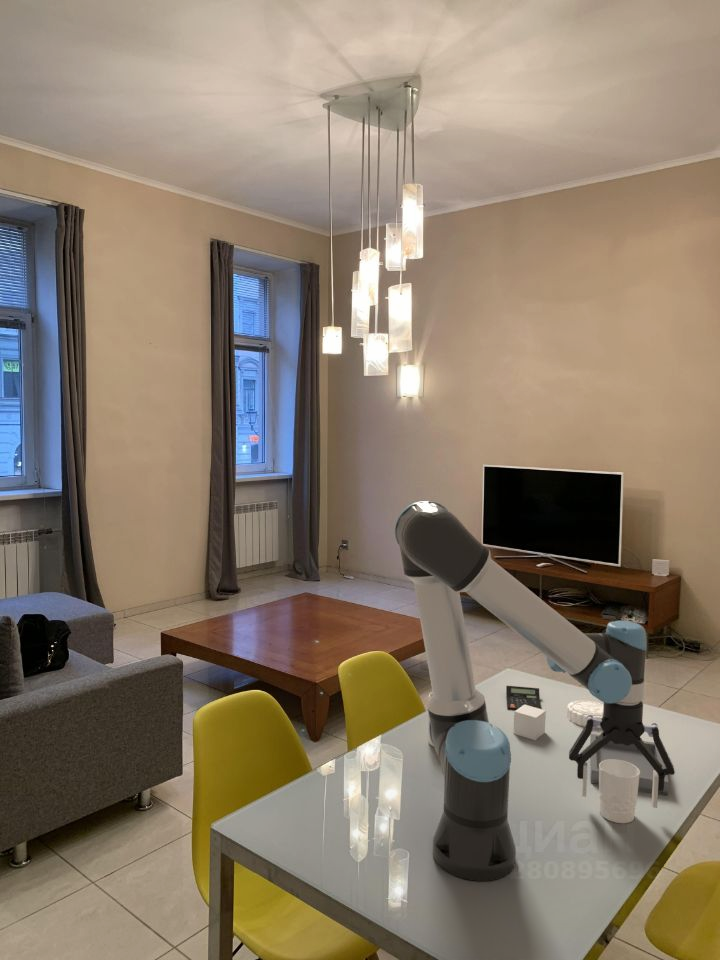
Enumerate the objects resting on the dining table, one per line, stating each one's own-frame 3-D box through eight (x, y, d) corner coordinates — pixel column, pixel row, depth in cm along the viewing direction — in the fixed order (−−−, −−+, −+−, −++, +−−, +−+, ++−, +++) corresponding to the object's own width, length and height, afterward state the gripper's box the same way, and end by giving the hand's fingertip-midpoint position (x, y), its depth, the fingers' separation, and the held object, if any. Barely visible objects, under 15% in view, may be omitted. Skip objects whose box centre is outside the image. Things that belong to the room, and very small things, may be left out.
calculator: (507, 710, 202) (507, 700, 202) (505, 694, 214) (506, 685, 214) (541, 713, 201) (542, 703, 201) (538, 697, 212) (539, 687, 212)
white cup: (607, 800, 155) (610, 755, 154) (643, 815, 149) (646, 768, 148) (589, 814, 149) (592, 767, 148) (626, 830, 144) (629, 781, 143)
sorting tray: (667, 795, 157) (668, 782, 157) (590, 782, 162) (591, 770, 162) (658, 755, 177) (659, 743, 176) (589, 745, 181) (590, 733, 181)
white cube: (523, 726, 192) (524, 704, 191) (544, 733, 188) (545, 710, 188) (513, 733, 187) (514, 711, 186) (535, 740, 183) (536, 717, 183)
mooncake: (569, 727, 192) (570, 713, 192) (563, 709, 204) (564, 696, 204) (616, 730, 191) (617, 717, 190) (607, 712, 203) (608, 700, 202)
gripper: (687, 699, 147) (682, 799, 149) (560, 684, 154) (556, 780, 156) (693, 713, 140) (687, 818, 142) (559, 697, 147) (555, 797, 149)
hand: (618, 798), depth 149 cm, fingers open, 13 cm apart
